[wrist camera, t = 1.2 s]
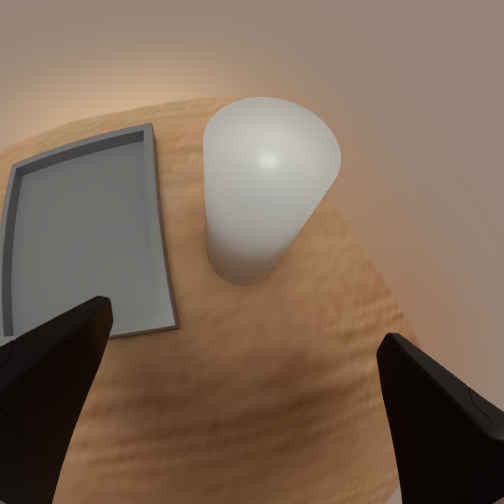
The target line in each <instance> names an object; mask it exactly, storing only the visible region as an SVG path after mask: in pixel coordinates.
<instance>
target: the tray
mask: <svg viewBox="0 0 504 504" xmlns="http://www.w3.org/2000/svg"><path fill="white" fill-rule="evenodd" d="M98 295H100V296H105V297H109V298H110V300H111V304H112V312H113V326H112V329H111V332H110V335H109V338H108V339H113V338H120V337H127V336H134V335H140V334H147V333H153V332H159V331H165V330H171V329H176V328H180V327H179V322H178V317H177V311H176V306H175V301H174V295H173V289H172V283H171V277H170V271H169V265H168V258H167V251H166V244H165V236H164V228H163V220H162V211H161V202H160V192H159V181H158V169H157V155H156V139H155V135H154V130H153V125H152V123H147V124H142V125H138V126H133V127H129V128H124V129H120V130H116V131H112V132H108V133H104V134H100V135H96V136H93V137H89V138H86V139H82V140H79V141H76V142H73V143H69V144H66V145H63V146H60V147H57V148H54V149H51V150H48V151H46V152H43V153H40V154H37V155H35V156H32V157H30V158H27V159H25V160H22V161H20V162H17V163H15V164H13V165H12V169H11V173H10V177H9V181H8V186H7V190H6V195H5V201H4V206H3V212H2V219H1V226H0V346H2V345H4V344H6V343H8V342H10V341H11V340H15V338H17V337H19V336H21V335H23V334H24V333H26V332H28V331H30V330H32V329H34V328H36V327H37V326H39V325H41V324H43V323H45V322H47V321H49V320H51V319H53V318H55V317H56V316H58V315H60V314H62V313H64V312H66V311H68V310H70V309H72V308H74V307H76V306H78V305H80V304H82V303H84V302H86V301H87V300H89V299H91V298H93V297H95V296H98Z"/></svg>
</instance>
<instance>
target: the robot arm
mask: <svg viewBox="0 0 504 504" xmlns="http://www.w3.org/2000/svg"><path fill="white" fill-rule="evenodd" d="M112 326H113V312H112V304H111V300H110V298H109V297H105V296H100V295H98V296H95V297H93V298H91V299H89V300H87V301H86V302H84V303H82V304H80V305H78V306H76V307H74V308H72V309H70V310H68V311H66V312H64V313H62V314H60V315H58V316H56V317H55V318H53V319H51V320H49V321H47V322H45V323H43V324H41V325H39V326H37V327H36V328H34V329H32V330H30V331H28V332H26V333H24V334H23V335H21V336H19V337H17V338H15V340H11V341H10V342H8V343H6V344H4V345H2V346H0V504H52V502H53V498H54V494H55V490H56V486H57V483H58V479H59V476H60V471H61V468H62V465H63V462H64V459H65V455H66V452H67V449H68V446H69V443H70V440H71V437H72V435H73V432H74V429H75V426H76V423H77V421H78V418H79V415H80V413H81V410H82V407H83V405H84V402H85V400H86V397H87V395H88V392H89V390H90V387H91V385H92V383H93V380H94V378H95V375H96V373H97V371H98V368H99V366H100V363H101V360H102V357H103V354H104V351H105V347H106V344H107V341H108V338H109V335H110V332H111V329H112ZM376 357H377V363H378V370H379V376H380V383H381V390H382V395H383V400H384V404H385V408H386V413H387V417H388V422H389V426H390V431H391V436H392V441H393V446H394V451H395V457H396V463H397V468H398V475H399V481H400V487H401V494H402V495H401V496H402V504H504V412H503V411H502V410H500V409H499V408H497V407H496V406H494V405H493V404H492V403H490V402H489V401H487V400H486V399H484V398H483V397H481V396H480V395H479V394H478V393H476V392H475V391H474V390H472V389H471V388H470V387H468V386H467V385H466V384H465V383H463V382H462V381H461V380H459V379H458V378H457V377H455V376H454V375H453V374H452V373H450V372H449V371H448V370H446V369H445V368H444V367H443V366H441V365H440V364H439V363H437V362H436V361H435V360H433V359H432V358H431V357H429V356H428V355H427V354H425V353H424V352H423V351H421V350H420V349H419V348H417V347H416V346H415V345H413V344H412V343H411V342H409V341H408V340H407V339H405V338H404V337H403V336H401V335H400V334H399V333H388V334H386V335H385V337H384V339H383V341H382V343H381V345H380V346H379V348H378V350H377V354H376Z"/></svg>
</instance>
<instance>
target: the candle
mask: <svg viewBox="0 0 504 504" xmlns="http://www.w3.org/2000/svg"><path fill="white" fill-rule="evenodd" d="M203 162H204V191H205V213H206V232H207V248H208V258H209V261H210V264H211V266H212V268H213V269H214V271H215V272H216V273H217V274H218V275H219V276H220V277H221V278H223V279H224V280H226V281H228V282H230V283H233V284H237V285H251V284H255V283H257V282H260V281H261V280H263V279H265V278H266V277H267V276H268V275H269V274H270V273H271V272H272V270H273V269H274V267H275V266H276V265H277V263H278V262H279V260H280V259H281V257H282V256H283V255H284V253H285V252H286V250H287V249H288V247H289V246H290V245H291V243H292V242H293V240H294V239H295V237H296V236H297V234H298V233H299V232H300V230H301V229H302V227H303V226H304V224H305V223H306V221H307V220H308V218H309V217H310V215H311V214H312V213H313V211H314V210H315V208H316V207H317V205H318V204H319V202H320V201H321V199H322V198H323V196H324V195H325V193H326V192H327V190H328V189H329V187H330V186H331V184H332V183H333V181H334V180H335V178H336V177H337V174H338V172H339V169H340V164H341V155H340V149H339V146H338V143H337V141H336V138H335V136H334V135H333V133H332V132H331V130H330V129H329V128H328V127H327V125H326V124H325V123H324V122H323V121H322V120H321V119H320V118H319V117H317V116H316V115H315V114H313V113H312V112H310V111H309V110H307V109H305V108H304V107H301V106H299V105H297V104H294V103H292V102H289V101H285V100H282V99H276V98H268V97H255V98H247V99H242V100H239V101H235V102H233V103H231V104H228V105H227V106H225V107H223V108H222V109H220V110H219V111H218V112H217V113H216V114H215V115H214V116H213V117H212V118H211V119H210V121H209V122H208V124H207V126H206V128H205V132H204V136H203Z"/></svg>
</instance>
